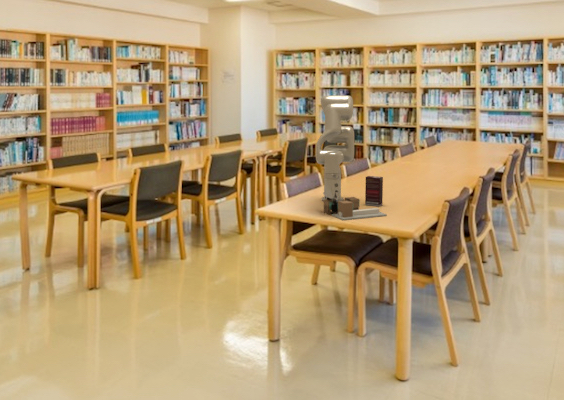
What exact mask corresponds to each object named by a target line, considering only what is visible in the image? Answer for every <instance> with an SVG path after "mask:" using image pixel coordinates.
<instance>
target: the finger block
mask: <svg viewBox="0 0 564 400" xmlns="http://www.w3.org/2000/svg"><path fill="white" fill-rule="evenodd" d="M334 201H335V200H334ZM331 206H332V199H325V200H324V201H323V213H324V214H326V215H329V216H330V215H331ZM333 214H338V206H337V212H333Z"/></svg>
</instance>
